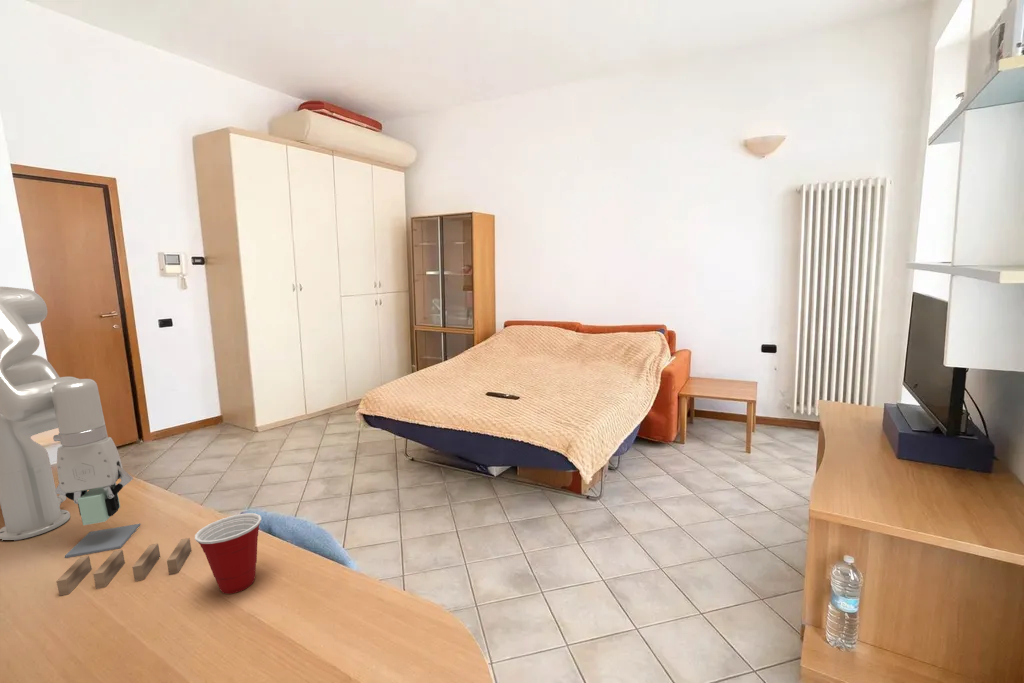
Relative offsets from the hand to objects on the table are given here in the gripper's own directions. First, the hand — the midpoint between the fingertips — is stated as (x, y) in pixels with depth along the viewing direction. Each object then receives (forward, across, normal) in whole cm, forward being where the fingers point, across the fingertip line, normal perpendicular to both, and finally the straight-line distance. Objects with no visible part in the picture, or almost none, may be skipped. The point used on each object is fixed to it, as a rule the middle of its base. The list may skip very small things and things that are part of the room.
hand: (101, 514), depth 109 cm
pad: (+6, 0, 0) cm, 6 cm away
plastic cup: (+7, +32, -28) cm, 43 cm away
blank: (+1, 0, 0) cm, 1 cm away
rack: (+7, +10, -16) cm, 20 cm away
